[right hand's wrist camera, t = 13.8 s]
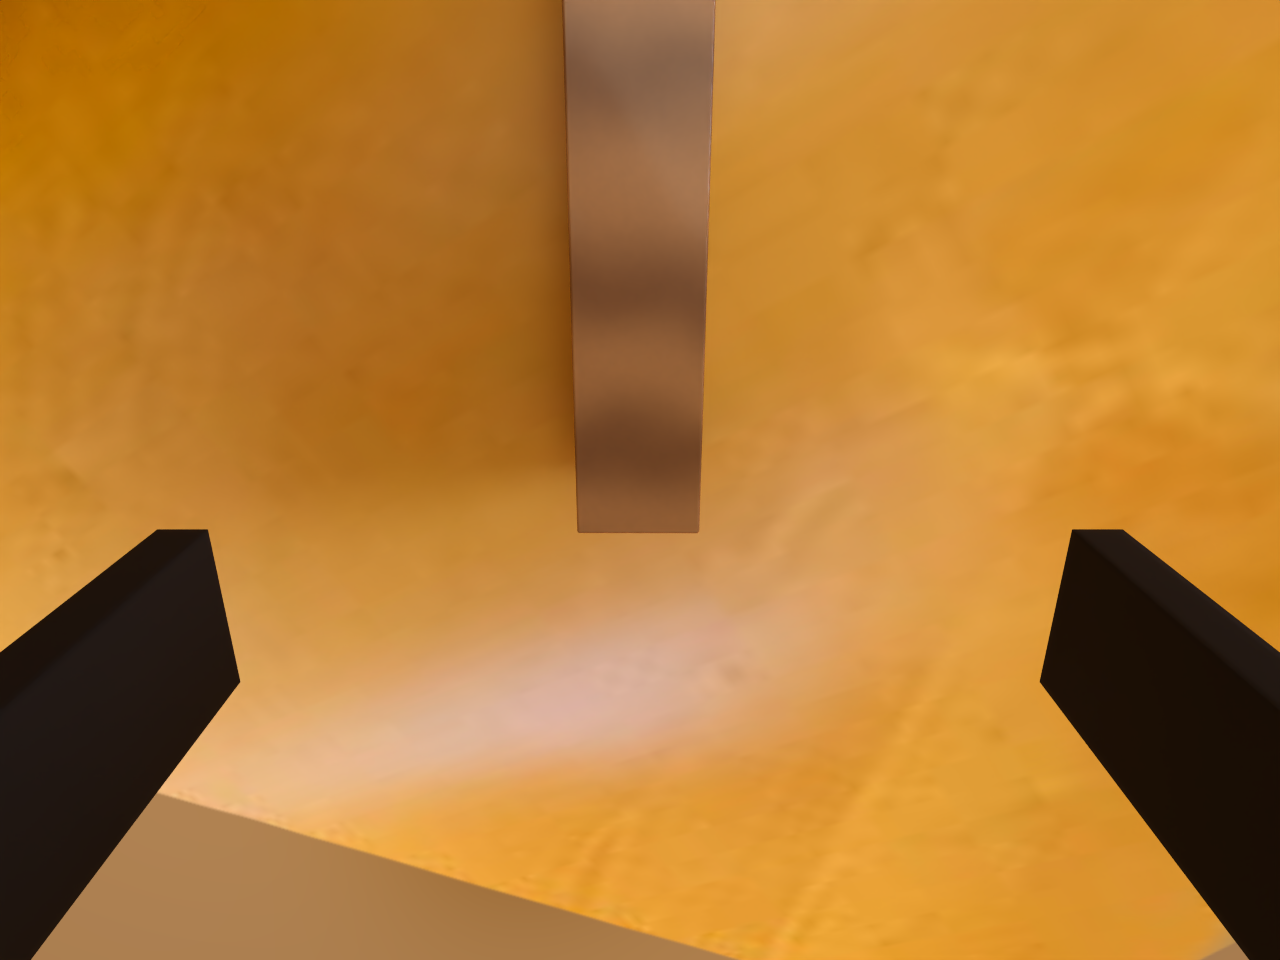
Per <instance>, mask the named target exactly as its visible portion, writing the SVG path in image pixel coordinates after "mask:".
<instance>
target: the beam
mask: <svg viewBox="0 0 1280 960" xmlns="http://www.w3.org/2000/svg"><path fill="white" fill-rule="evenodd" d="M715 3H716V0H562V12H563V47H564V82H565V116H566V151H567V186H568V220H569V255H570V290H571V324H572V359H573V393H574V428H575V463H576V497H577V531H578V532H579V533H698V532H699V517H700V485H701V453H702V421H703V389H704V356H705V324H706V292H707V260H708V228H709V196H710V163H711V131H712V99H713V67H714V35H715Z"/></svg>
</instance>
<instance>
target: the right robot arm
mask: <svg viewBox="0 0 1280 960" xmlns="http://www.w3.org/2000/svg"><path fill="white" fill-rule="evenodd" d="M239 683H240V678H239V673H238V669H237V664H236V659H235V655H234V650H233V645H232V641H231V636H230V631H229V627H228V622H227V617H226V613H225V608H224V603H223V599H222V594H221V589H220V584H219V580H218V575H217V570H216V566H215V561H214V556H213V552H212V547H211V542H210V538H209V533H208V530H156V531H155V532H154V533H152V534H151V535H150V536H148V537H147V538H146V539H145V540H143V541H142V542H141V543H139V544H138V545H137V546H136V547H134V548H133V549H132V550H131V551H129V552H128V553H127V554H125V555H124V556H123V557H122V558H120V559H119V560H118V561H116V562H115V563H114V564H113V565H111V566H110V567H109V568H108V569H106V570H105V571H104V572H102V573H101V574H100V575H99V576H97V577H96V578H95V579H93V580H92V581H91V582H90V583H88V584H87V585H86V586H85V587H83V588H82V589H81V590H79V591H78V592H77V593H76V594H74V595H73V596H72V597H70V598H69V599H68V600H67V601H65V602H64V603H63V604H62V605H60V606H59V607H58V608H56V609H55V610H54V611H53V612H51V613H50V614H49V615H47V616H46V617H45V618H44V619H42V620H41V621H40V622H39V623H37V624H36V625H35V626H33V627H32V628H31V629H30V630H28V631H27V632H26V633H24V634H23V635H22V636H21V637H19V638H18V639H17V640H16V641H14V642H13V643H12V644H10V645H9V646H8V647H7V648H5V649H4V650H3V651H2V652H0V960H31V959H32V957H33V956H34V955H35V953H36V952H37V951H38V949H39V948H40V947H41V945H42V944H43V943H44V942H45V940H46V939H47V937H48V936H49V935H50V934H51V932H52V931H53V930H54V928H55V927H56V926H57V924H58V923H59V922H60V920H61V919H62V918H63V916H64V915H65V914H66V912H67V911H68V910H69V908H70V907H71V906H72V904H73V903H74V902H75V900H76V899H77V898H78V896H79V895H80V894H81V892H82V891H83V890H84V888H85V887H86V886H87V884H88V883H89V882H90V880H91V879H92V878H93V877H94V875H95V874H96V873H97V871H98V870H99V869H100V867H101V866H102V865H103V863H104V862H105V861H106V859H107V858H108V857H109V855H110V854H111V853H112V851H113V850H114V849H115V847H116V846H117V845H118V843H119V842H120V841H121V839H122V838H123V837H124V835H125V834H126V833H127V831H128V830H129V829H130V827H131V826H132V825H133V823H134V822H135V821H136V819H137V818H138V817H139V815H140V814H141V813H142V812H143V810H144V809H145V808H146V806H147V805H148V804H149V802H150V801H151V800H152V798H153V797H154V796H155V794H156V793H157V792H158V790H159V789H160V788H161V786H162V785H163V784H164V782H165V781H166V780H167V778H168V777H169V776H170V774H171V773H172V772H173V770H174V769H175V768H176V766H177V765H178V764H179V762H180V761H181V760H182V758H183V757H184V756H185V754H186V753H187V752H188V751H189V749H190V748H191V747H192V745H193V744H194V743H195V741H196V740H197V739H198V737H199V736H200V735H201V733H202V732H203V731H204V729H205V728H206V727H207V725H208V724H209V723H210V721H211V720H212V719H213V717H214V716H215V715H216V713H217V712H218V711H219V709H220V708H221V707H222V705H223V704H224V703H225V701H226V700H227V699H228V697H229V696H230V695H231V693H232V692H233V691H234V689H235V688H236V687H237V686H238V684H239ZM1040 683H1041V684H1042V686H1043V687H1044V688H1045V690H1046V691H1047V692H1048V693H1049V695H1050V696H1051V697H1052V699H1053V700H1054V701H1055V703H1056V704H1057V705H1058V707H1059V708H1060V709H1061V711H1062V712H1063V713H1064V715H1065V716H1066V717H1067V719H1068V720H1069V721H1070V723H1071V724H1072V725H1073V727H1074V728H1075V729H1076V731H1077V732H1078V733H1079V735H1080V736H1081V737H1082V739H1083V740H1084V741H1085V743H1086V744H1087V745H1088V747H1089V748H1090V749H1091V751H1092V752H1093V753H1094V754H1095V756H1096V757H1097V758H1098V760H1099V761H1100V762H1101V764H1102V765H1103V766H1104V768H1105V769H1106V770H1107V772H1108V773H1109V774H1110V776H1111V777H1112V778H1113V780H1114V781H1115V782H1116V784H1117V785H1118V786H1119V788H1120V789H1121V790H1122V792H1123V793H1124V794H1125V796H1126V797H1127V798H1128V800H1129V801H1130V802H1131V804H1132V805H1133V806H1134V808H1135V809H1136V810H1137V812H1138V813H1139V814H1140V816H1141V817H1142V818H1143V819H1144V821H1145V822H1146V823H1147V825H1148V826H1149V827H1150V829H1151V830H1152V831H1153V833H1154V834H1155V835H1156V837H1157V838H1158V839H1159V841H1160V842H1161V843H1162V845H1163V846H1164V847H1165V849H1166V850H1167V851H1168V853H1169V854H1170V855H1171V857H1172V858H1173V859H1174V861H1175V862H1176V863H1177V865H1178V866H1179V867H1180V869H1181V870H1182V871H1183V873H1184V874H1185V875H1186V877H1187V878H1188V879H1189V880H1190V882H1191V883H1192V884H1193V886H1194V887H1195V888H1196V890H1197V891H1198V892H1199V894H1200V895H1201V896H1202V898H1203V899H1204V900H1205V902H1206V903H1207V904H1208V906H1209V907H1210V908H1211V910H1212V911H1213V912H1214V914H1215V915H1216V916H1217V918H1218V919H1219V920H1220V922H1221V923H1222V924H1223V926H1224V927H1225V928H1226V930H1227V931H1228V932H1229V934H1230V935H1231V936H1232V938H1233V939H1234V940H1235V942H1236V943H1237V944H1238V945H1239V947H1240V948H1241V949H1242V951H1243V952H1244V953H1245V955H1246V956H1247V957H1248V959H1249V960H1280V652H1278V651H1277V650H1276V649H1275V648H1273V647H1272V646H1271V645H1270V644H1268V643H1267V642H1266V641H1264V640H1263V639H1262V638H1261V637H1259V636H1258V635H1257V634H1256V633H1254V632H1253V631H1252V630H1250V629H1249V628H1248V627H1247V626H1245V625H1244V624H1243V623H1241V622H1240V621H1239V620H1238V619H1236V618H1235V617H1234V616H1233V615H1231V614H1230V613H1229V612H1227V611H1226V610H1225V609H1224V608H1222V607H1221V606H1220V605H1218V604H1217V603H1216V602H1215V601H1213V600H1212V599H1211V598H1210V597H1208V596H1207V595H1206V594H1204V593H1203V592H1202V591H1201V590H1199V589H1198V588H1197V587H1195V586H1194V585H1193V584H1192V583H1190V582H1189V581H1188V580H1187V579H1185V578H1184V577H1183V576H1181V575H1180V574H1179V573H1178V572H1176V571H1175V570H1174V569H1172V568H1171V567H1170V566H1169V565H1167V564H1166V563H1165V562H1164V561H1162V560H1161V559H1160V558H1158V557H1157V556H1156V555H1155V554H1153V553H1152V552H1151V551H1149V550H1148V549H1147V548H1146V547H1144V546H1143V545H1142V544H1141V543H1139V542H1138V541H1137V540H1135V539H1134V538H1133V537H1132V536H1130V535H1129V534H1128V533H1126V532H1125V531H1124V530H1072V533H1071V538H1070V542H1069V547H1068V552H1067V556H1066V561H1065V566H1064V570H1063V575H1062V580H1061V584H1060V589H1059V594H1058V598H1057V603H1056V608H1055V613H1054V617H1053V622H1052V627H1051V631H1050V636H1049V641H1048V645H1047V650H1046V655H1045V659H1044V664H1043V669H1042V673H1041V678H1040Z"/></svg>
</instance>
